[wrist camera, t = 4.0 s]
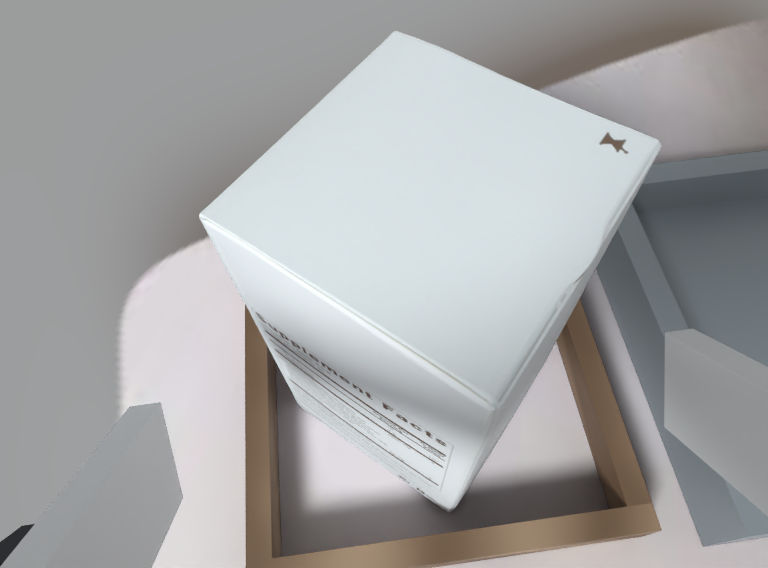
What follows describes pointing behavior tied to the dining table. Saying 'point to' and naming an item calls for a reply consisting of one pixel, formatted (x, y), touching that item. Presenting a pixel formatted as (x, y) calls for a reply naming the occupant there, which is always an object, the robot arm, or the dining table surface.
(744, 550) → the dining table surface
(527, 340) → the supplement box
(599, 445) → the walnut collar
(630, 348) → the grey tray
